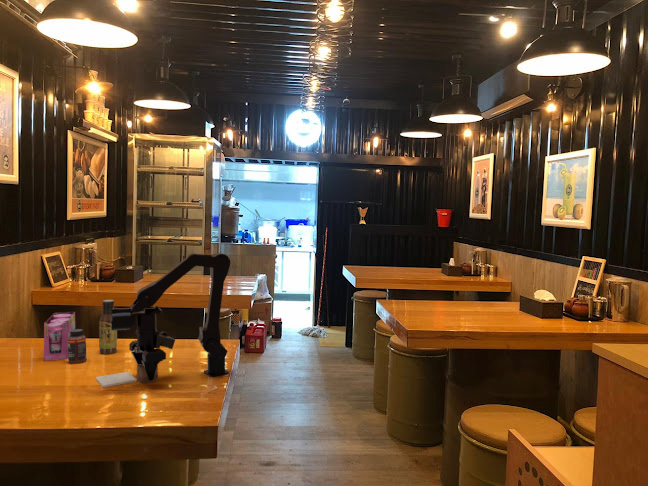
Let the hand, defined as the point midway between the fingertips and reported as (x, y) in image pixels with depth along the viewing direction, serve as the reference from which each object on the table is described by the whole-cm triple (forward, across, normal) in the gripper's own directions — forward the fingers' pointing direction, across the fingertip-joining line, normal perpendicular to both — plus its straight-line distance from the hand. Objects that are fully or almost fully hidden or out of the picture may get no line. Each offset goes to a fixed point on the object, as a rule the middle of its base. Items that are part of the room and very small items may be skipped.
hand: (147, 377), depth 164 cm
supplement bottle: (+1, +36, +14) cm, 39 cm away
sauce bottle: (+1, +43, +2) cm, 43 cm away
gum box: (+1, +53, +17) cm, 56 cm away
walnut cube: (+1, 0, 0) cm, 1 cm away
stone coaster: (+1, +6, +8) cm, 10 cm away
